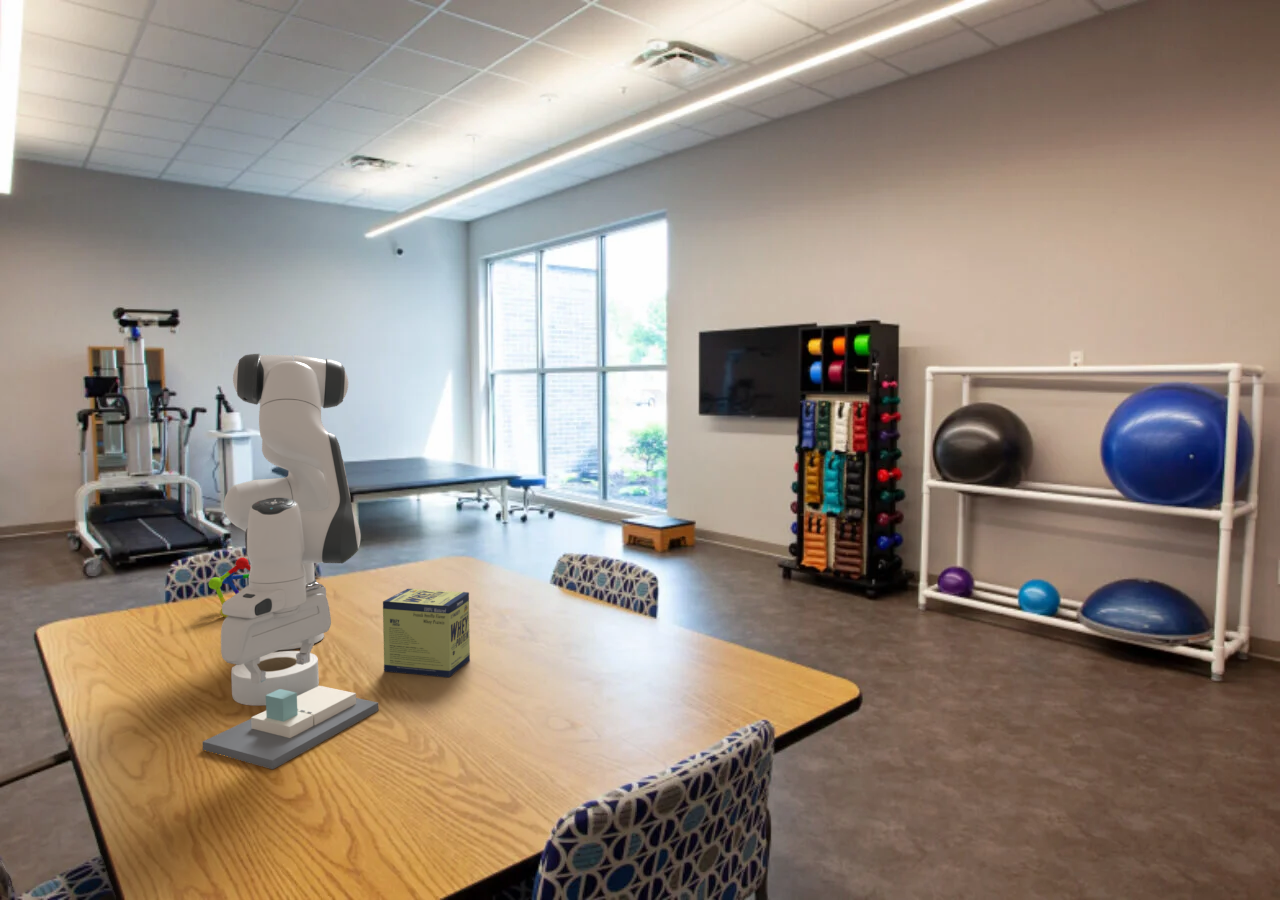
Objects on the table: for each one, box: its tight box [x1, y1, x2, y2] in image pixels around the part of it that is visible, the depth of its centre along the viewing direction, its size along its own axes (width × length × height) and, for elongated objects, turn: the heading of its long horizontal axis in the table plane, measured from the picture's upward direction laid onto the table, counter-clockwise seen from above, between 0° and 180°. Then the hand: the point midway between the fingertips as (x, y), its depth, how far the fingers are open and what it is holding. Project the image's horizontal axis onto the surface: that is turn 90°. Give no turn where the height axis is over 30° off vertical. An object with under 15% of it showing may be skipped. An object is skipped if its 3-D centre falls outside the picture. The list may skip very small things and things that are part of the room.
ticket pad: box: [297, 685, 357, 726], centre depth 141 cm, size 9×10×2 cm
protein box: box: [382, 588, 471, 678], centre depth 167 cm, size 10×16×16 cm
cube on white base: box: [250, 689, 313, 738], centre depth 134 cm, size 9×5×6 cm, turn 67°
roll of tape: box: [230, 650, 320, 707], centre depth 154 cm, size 16×16×6 cm
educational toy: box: [208, 557, 251, 618], centre depth 205 cm, size 16×13×15 cm
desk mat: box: [202, 697, 380, 770], centre depth 137 cm, size 16×24×2 cm, turn 157°
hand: (281, 672), depth 133 cm, fingers open, 8 cm apart
